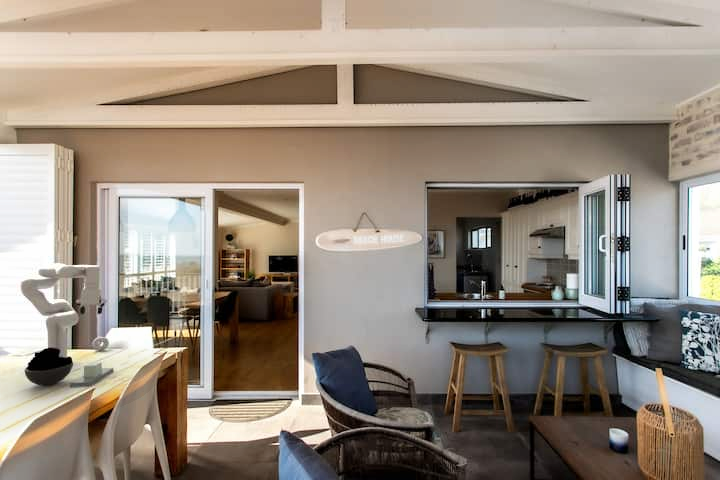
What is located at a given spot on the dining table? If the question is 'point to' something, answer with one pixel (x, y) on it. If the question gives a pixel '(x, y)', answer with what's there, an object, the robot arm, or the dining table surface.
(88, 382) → the board
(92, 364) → the block
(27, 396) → the dining table surface
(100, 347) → the donut
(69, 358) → the coal bowl
